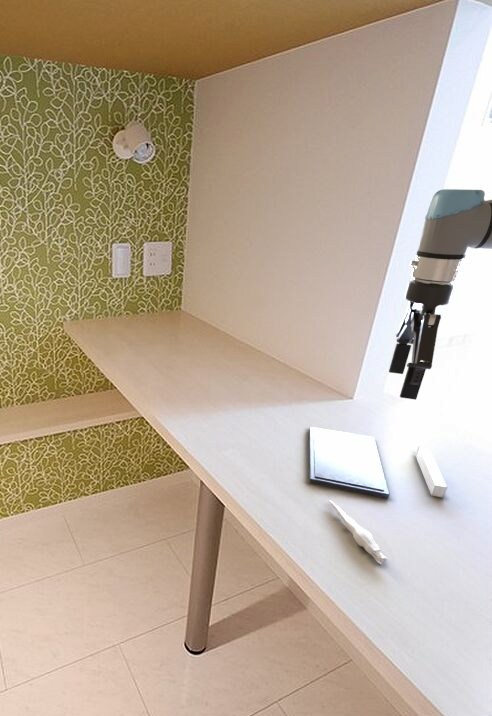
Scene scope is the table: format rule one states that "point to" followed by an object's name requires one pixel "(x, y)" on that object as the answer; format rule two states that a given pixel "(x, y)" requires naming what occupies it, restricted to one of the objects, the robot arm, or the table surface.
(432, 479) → the white rectangular bar
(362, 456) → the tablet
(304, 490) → the table surface
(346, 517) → the white tapered piece
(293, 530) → the table surface
